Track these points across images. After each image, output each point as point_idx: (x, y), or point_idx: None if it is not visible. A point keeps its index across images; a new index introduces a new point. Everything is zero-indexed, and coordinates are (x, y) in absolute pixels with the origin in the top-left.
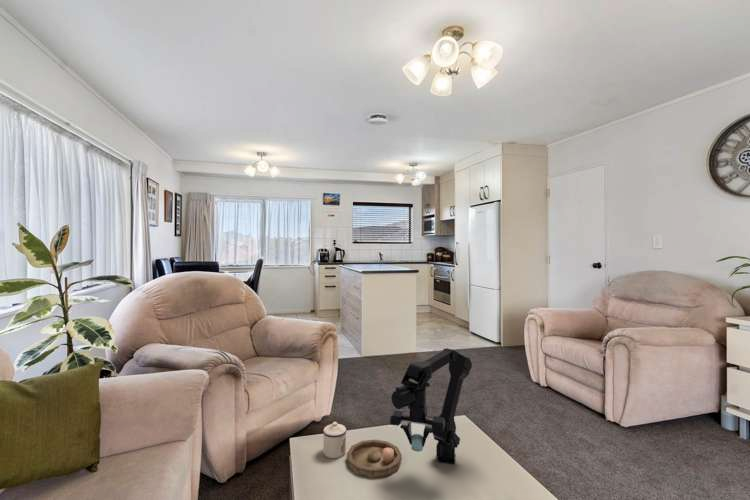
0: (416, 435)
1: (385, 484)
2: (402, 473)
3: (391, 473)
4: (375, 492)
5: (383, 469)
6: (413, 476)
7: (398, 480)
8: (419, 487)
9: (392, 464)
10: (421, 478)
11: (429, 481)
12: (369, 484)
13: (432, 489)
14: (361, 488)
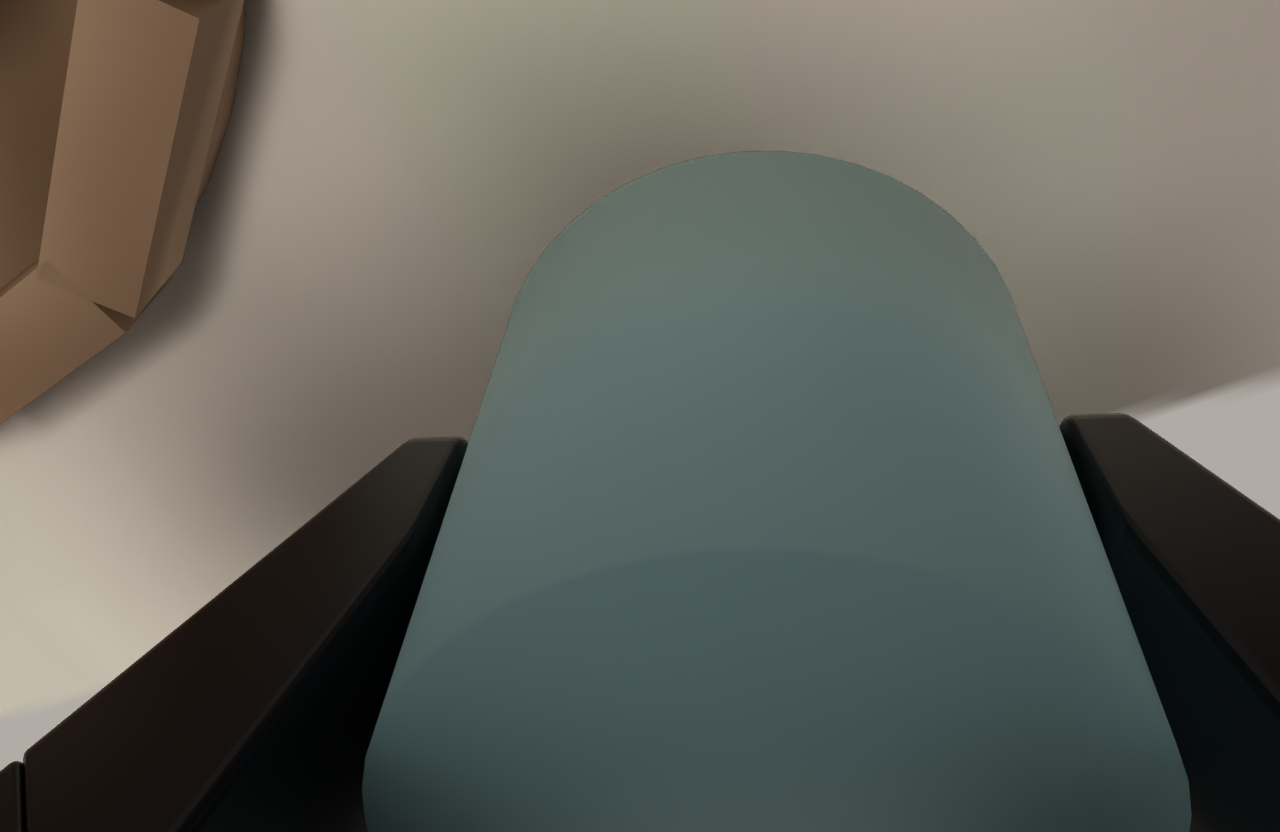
0: (660, 722)
1: (284, 453)
2: (414, 47)
3: (212, 166)
4: None
5: (64, 376)
6: (683, 60)
7: (437, 292)
8: None
9: (117, 148)
10: (878, 63)
11: (1074, 101)
12: (68, 523)
13: (1141, 318)
14: (34, 618)
